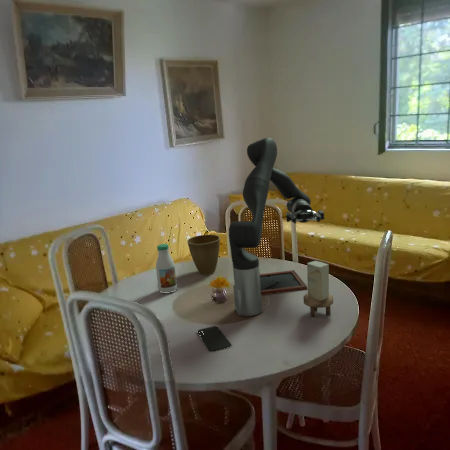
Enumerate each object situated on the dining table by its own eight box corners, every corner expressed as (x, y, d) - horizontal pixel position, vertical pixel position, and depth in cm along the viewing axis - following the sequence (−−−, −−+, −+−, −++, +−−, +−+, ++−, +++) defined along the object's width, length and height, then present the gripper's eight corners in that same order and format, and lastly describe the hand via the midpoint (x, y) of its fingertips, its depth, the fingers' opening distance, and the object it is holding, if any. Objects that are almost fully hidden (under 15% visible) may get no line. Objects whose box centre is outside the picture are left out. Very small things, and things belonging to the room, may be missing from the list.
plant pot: (194, 267, 214) (190, 235, 210) (224, 266, 211) (222, 233, 207) (187, 278, 199) (183, 244, 195) (220, 277, 197) (217, 242, 193)
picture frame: (245, 298, 174) (307, 290, 176) (244, 293, 173) (307, 285, 175) (237, 280, 193) (294, 273, 195) (237, 276, 193) (293, 269, 195)
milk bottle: (155, 293, 185) (149, 247, 180) (164, 286, 192) (159, 242, 187) (171, 295, 182) (166, 248, 177) (180, 287, 189) (175, 242, 184)
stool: (310, 321, 148) (310, 305, 147) (299, 310, 158) (299, 294, 156) (338, 317, 150) (338, 300, 149) (326, 305, 160) (325, 289, 158)
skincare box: (307, 296, 154) (306, 263, 151) (316, 292, 156) (315, 260, 154) (321, 301, 149) (319, 267, 146) (330, 297, 151) (329, 263, 149)
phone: (209, 351, 134) (195, 330, 148) (210, 353, 135) (196, 332, 148) (232, 345, 137) (216, 325, 151) (232, 347, 137) (217, 327, 151)
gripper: (284, 203, 179) (286, 211, 164) (319, 200, 178) (326, 208, 162) (285, 221, 181) (287, 231, 165) (320, 219, 180) (326, 228, 164)
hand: (306, 220), depth 164 cm, fingers open, 8 cm apart
